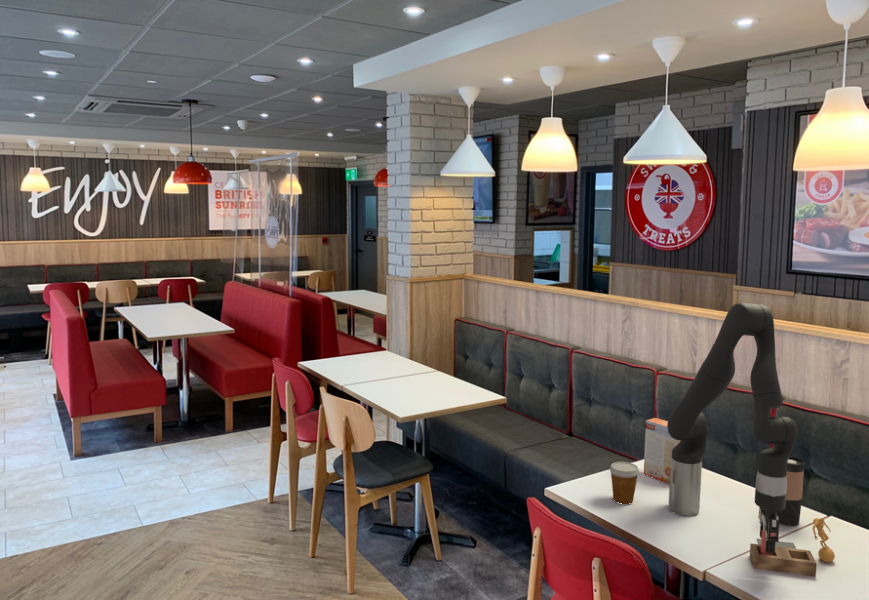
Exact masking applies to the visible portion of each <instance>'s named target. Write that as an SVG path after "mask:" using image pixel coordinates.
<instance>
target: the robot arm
mask: <svg viewBox="0 0 869 600" xmlns="http://www.w3.org/2000/svg"><path fill="white" fill-rule="evenodd" d="M774 322H775V321H774V316H773V313H772V310H771V309H770V308H769V307H768V306H766V305H765V304H761V303H750V302H749V303H747V302H737V303H735V304H733V305H732V306H731V307H730V308H729V310H728V311H727V313H726V315H725V318H724V320H723V322H722V324H721V327H720V329H719V330H718V334H717V336H716V339H714V340H715V341H714V343H713V344H712V346H711V348H710V350H709V352H708V354H707V355H706V357H705V359H704V360H703V362H702V364H701V365H700V368H699V369H698V371H697V373H696V375H695V377H694V379H693V380H692V382H691V384H690V385H689V387H688V389H687V390H686V393H685V394H684V396H683V397H682V398H681V400H680V402H678V404H677V405H676V407H675V408H674V409H673V411H672V412H671V414H670V415H669V417H668V420H667V421H668V424H667V428H668V432H669V434H670V436H671V437H672V438H673V439H675V440H679V441H680V442H679V443H678V444H677V445H676V446H675V447H674V448H673V449H672V456H671V477H670V484H668V485H669V486H668V487H669V488H668V489H669V490H668V511H669V513H674V514H676V515H680V516H683V517H684V516H685V517H694V516H697V515H699V513H700V507H701V506H700V504H701V486H702V471H703V470H702V469H703V456H704V454H705V452H706V449H707V448H706V447H707V439H708V438H707V437H708V429H709V428H708V420H707V417H706V415H705V413H704V412H703V410H705V409H706V408H707V407H709V406H710V405H711V404H712V403H713V402H714V401H717V399H719V397H720V396H721V395H723V393H724V392H725V391H726V389H727V388H728V387H729V385H730V384H731V381H732V380H733V378H734V377H735V376H734V375H735V372H736V362H735V361H736V360H735V356H734V352H735V348H736V347H737V344H738V343H739V341H740V340H741V338H743V337H744V336H745V337H747V336H748V337H753V338H754V341H755V344H756V345H755V346H756V355H755V360H754V362H753V365H752V368H751V371H750V386H751V392H752V395H753V396H752V397H753V401H754V402H753V403H754V406H753V407H754V409H753V411H754V413H753V420H752V421H753V423H752V433H753V435H754V437H755V439H756V440H757V442H759V443H760V444H764V445H769V444H770V445H773V446H772V447H771V446H770V447H769V448H766V449H763V450H761V451H759V453H758V458H757V459H758V460H757V461H758V462H757V472H756V473H757V474H756V476H755V487H754V489H755V490H754V504H755V505H756V506H757V507H758V508H759V509H758V510H759V511H758V517H757V518H758V520H759V521H758V523H759V525H760V526H759V539H761V537H762V530H764V531H765V532H766V548H765V551H766V553H768V554H774V553H775V543H776V542H778V541H780V540H779V538H780V537H779V536H780V524H779V523H780V521H779V518H778V515H776V514H777V513H776V512H777V511H779V510H783V509H784V508H785V505H786V491H787V462H788V459H789V456H791V453H792V451H793V449H794V446H795V444H796V441H797V436H798V427H797V424H796V423H795V421H794V420H793V419H792V418H791V417H789V416H770V414H769V413H770V410H774V409H778V408H781V407H782V406H783V404H784V399H783V394H782V389H781V385H780V382H779V381H780V380H779V376H778V370H777V362H776V361H777V359H776V358H777V357H776V338H775V336H776V335H775V323H774ZM771 533H774V536H770V535H771Z"/></svg>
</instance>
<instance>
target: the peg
mask: <svg viewBox="0 0 869 600" xmlns="http://www.w3.org/2000/svg"><path fill="white" fill-rule="evenodd" d="M770 536H774V533H771V535H770ZM760 539H761V552H760V554H763V555H771V556H773V554H768V553H766V551H765V548H766V532H765V531H764V530H762V537H761V538H760Z"/></svg>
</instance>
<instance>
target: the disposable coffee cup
mask: <svg viewBox="0 0 869 600" xmlns="http://www.w3.org/2000/svg"><path fill="white" fill-rule="evenodd" d="M609 471H610V473H611V474H610V477H611V488H612V499H614V500H615V501H616V502H619V503H622V504H629V503H632V502H634V497H635V493H636V486H637V481H638V475H639V474H640V469H639V467H638V465H637V464H634V463H631V462H627V461H616V462H613V463H611V464H610V467H609ZM614 500H613V501H614ZM615 501H614V502H615ZM616 502H615V503H616ZM622 504H621V505H622ZM632 504H633V503H632ZM629 505H630V504H629Z"/></svg>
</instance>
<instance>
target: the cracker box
mask: <svg viewBox="0 0 869 600" xmlns="http://www.w3.org/2000/svg"><path fill="white" fill-rule="evenodd" d="M667 424H668V420H665V419H662V418H658V417H652V418H650V419H646V420H645V437H644V457H643V458H644V459H643V475H644V474H645V475H644V476H646V475H648V476H647V477H649V476H650V477H649V478H651V477H653V478H652V479H654V478H655V480H657V481H659V480H660V481H659V482H662V483H664V482H665V484H667V485H670V477H671V456H672V449H673V448H674V447H675V446H676V445H677V444H678V443H679V442H680V441H679V440H675V439H673V438H672V437H671V436H670V434H669V432H668V428H667Z"/></svg>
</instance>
